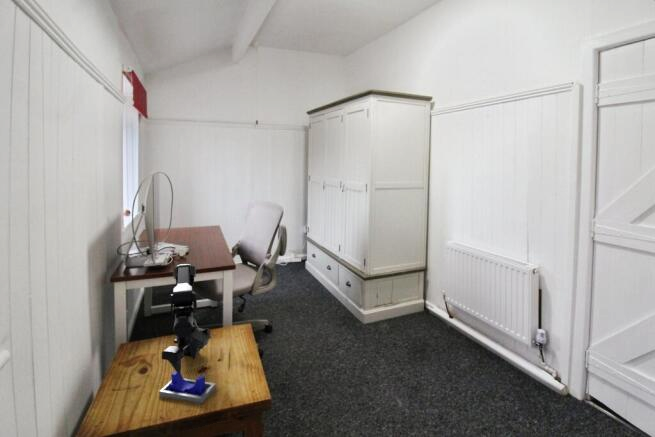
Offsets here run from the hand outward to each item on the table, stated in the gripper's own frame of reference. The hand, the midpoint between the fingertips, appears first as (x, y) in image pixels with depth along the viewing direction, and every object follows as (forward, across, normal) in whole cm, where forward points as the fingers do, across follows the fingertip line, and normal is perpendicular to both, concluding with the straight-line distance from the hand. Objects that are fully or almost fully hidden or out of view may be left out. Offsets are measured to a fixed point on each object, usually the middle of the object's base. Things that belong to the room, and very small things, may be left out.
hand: (186, 365), depth 131 cm
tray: (+11, 0, 0) cm, 11 cm away
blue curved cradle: (+10, 0, 0) cm, 10 cm away
